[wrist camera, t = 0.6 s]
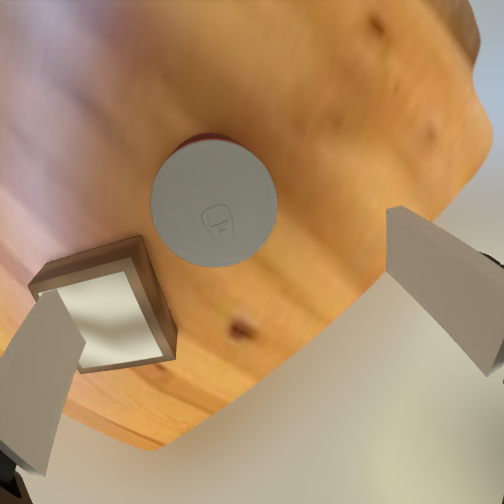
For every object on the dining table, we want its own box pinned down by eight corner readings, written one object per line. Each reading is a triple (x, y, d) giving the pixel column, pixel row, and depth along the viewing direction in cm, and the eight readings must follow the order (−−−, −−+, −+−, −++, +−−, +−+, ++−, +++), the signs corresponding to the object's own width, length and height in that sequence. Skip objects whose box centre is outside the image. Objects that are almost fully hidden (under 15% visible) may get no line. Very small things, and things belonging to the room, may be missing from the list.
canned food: (203, 230, 30) (205, 290, 20) (151, 167, 27) (121, 196, 17) (268, 184, 29) (303, 221, 19) (218, 115, 26) (227, 113, 16)
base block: (46, 262, 28) (26, 286, 24) (141, 235, 29) (130, 258, 24) (90, 346, 34) (80, 375, 29) (177, 329, 34) (175, 360, 30)
